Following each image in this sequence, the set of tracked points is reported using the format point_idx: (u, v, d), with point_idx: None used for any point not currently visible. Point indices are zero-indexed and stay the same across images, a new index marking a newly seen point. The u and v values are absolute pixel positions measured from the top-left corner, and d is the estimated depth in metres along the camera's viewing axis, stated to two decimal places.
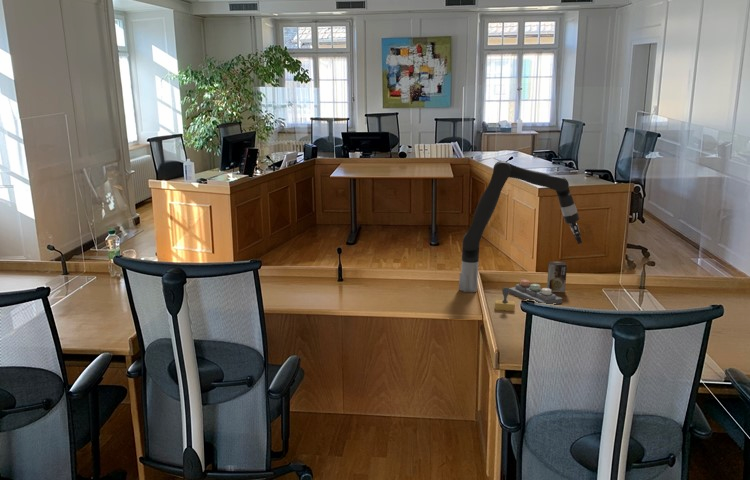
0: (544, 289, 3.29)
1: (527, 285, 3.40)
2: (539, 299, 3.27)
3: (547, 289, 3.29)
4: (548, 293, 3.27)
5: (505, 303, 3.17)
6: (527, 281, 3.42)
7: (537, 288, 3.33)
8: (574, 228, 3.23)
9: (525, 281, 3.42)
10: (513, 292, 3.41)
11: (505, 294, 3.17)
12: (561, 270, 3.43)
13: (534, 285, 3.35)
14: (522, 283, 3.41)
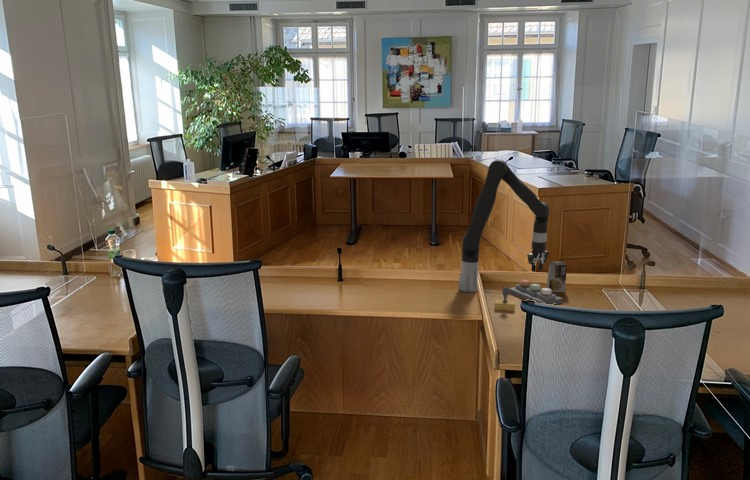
0: (544, 289, 3.29)
1: (527, 285, 3.40)
2: (539, 299, 3.27)
3: (547, 289, 3.29)
4: (548, 293, 3.27)
5: (505, 303, 3.17)
6: (527, 281, 3.42)
7: (537, 288, 3.33)
8: (528, 256, 3.28)
9: (525, 281, 3.42)
10: (513, 292, 3.41)
11: (505, 294, 3.17)
12: (561, 270, 3.43)
13: (534, 285, 3.35)
14: (522, 283, 3.41)
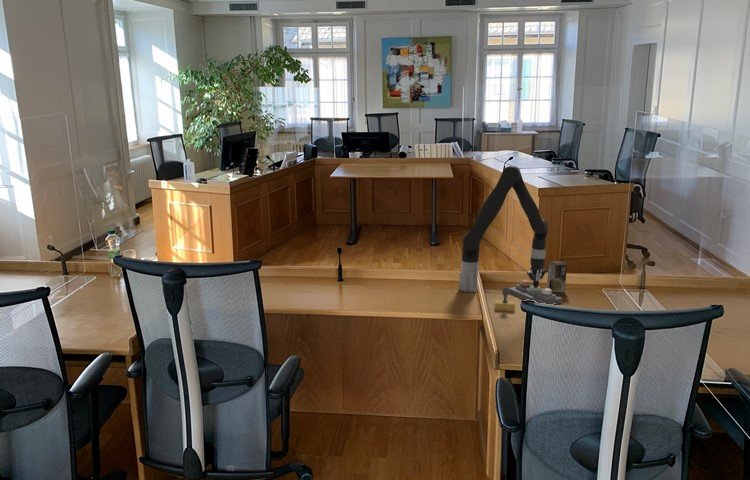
0: (544, 289, 3.29)
1: (527, 285, 3.40)
2: (539, 299, 3.27)
3: (547, 289, 3.29)
4: (548, 293, 3.27)
5: (505, 303, 3.17)
6: (527, 281, 3.42)
7: (537, 290, 3.34)
8: (528, 274, 3.31)
9: (525, 281, 3.42)
10: (513, 292, 3.41)
11: (505, 294, 3.17)
12: (561, 270, 3.43)
13: (534, 287, 3.35)
14: (522, 283, 3.41)
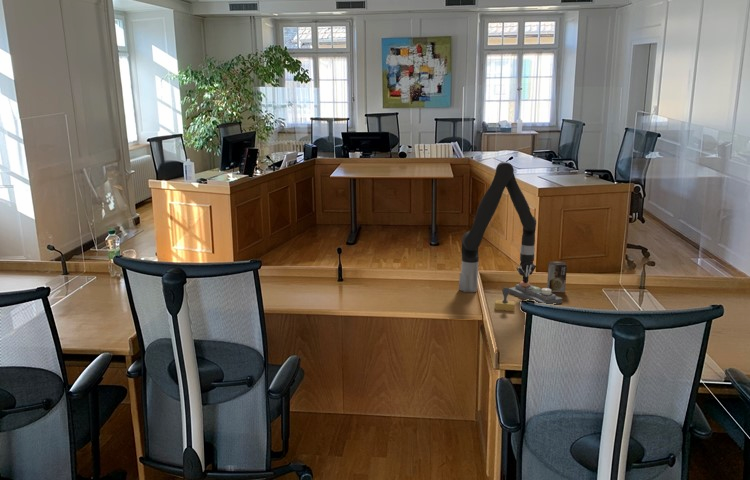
0: (544, 289, 3.29)
1: (527, 286, 3.40)
2: (539, 299, 3.27)
3: (547, 289, 3.29)
4: (548, 293, 3.27)
5: (505, 303, 3.17)
6: None
7: (537, 291, 3.34)
8: (517, 270, 3.38)
9: None
10: (513, 292, 3.41)
11: (505, 294, 3.17)
12: (561, 270, 3.43)
13: (534, 288, 3.35)
14: (522, 284, 3.41)
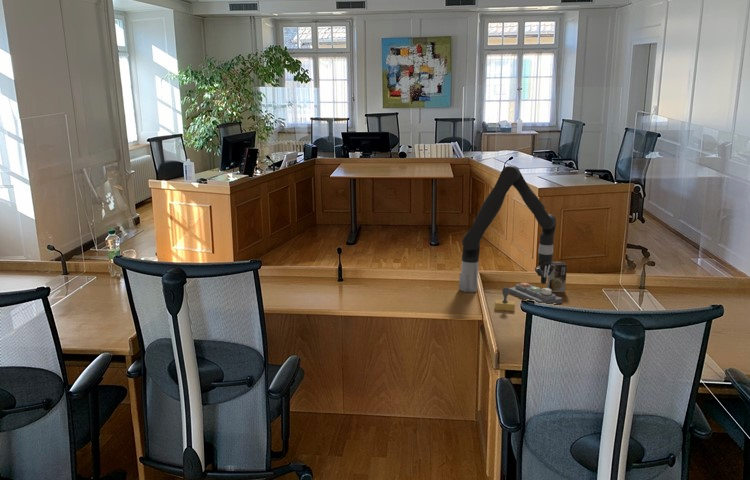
0: (544, 289, 3.29)
1: None
2: (539, 299, 3.27)
3: (547, 289, 3.29)
4: (548, 293, 3.27)
5: (505, 303, 3.17)
6: (527, 284, 3.42)
7: (537, 291, 3.34)
8: (536, 270, 3.27)
9: (525, 283, 3.43)
10: (513, 292, 3.41)
11: (505, 294, 3.17)
12: (561, 270, 3.43)
13: (534, 288, 3.35)
14: (522, 286, 3.41)
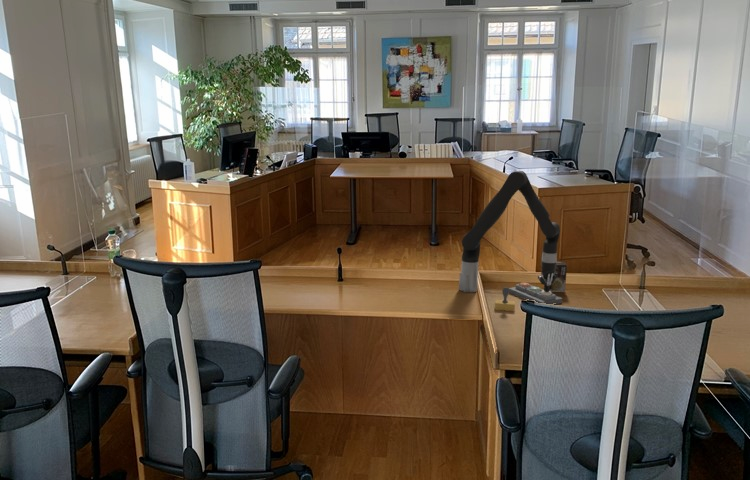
0: (544, 291, 3.29)
1: None
2: (539, 299, 3.27)
3: None
4: (548, 295, 3.27)
5: (505, 303, 3.17)
6: (527, 284, 3.42)
7: (537, 291, 3.34)
8: (539, 278, 3.25)
9: (525, 283, 3.43)
10: (513, 292, 3.41)
11: (505, 294, 3.17)
12: (561, 270, 3.43)
13: (534, 288, 3.35)
14: (522, 286, 3.41)
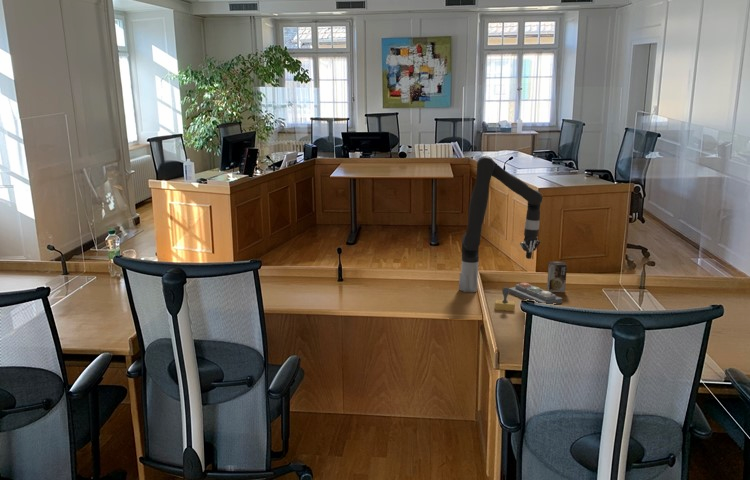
0: (544, 292, 3.29)
1: None
2: (539, 299, 3.27)
3: (547, 292, 3.29)
4: None
5: (505, 303, 3.17)
6: (527, 284, 3.42)
7: (537, 291, 3.34)
8: (521, 245, 3.34)
9: (525, 283, 3.43)
10: (513, 292, 3.41)
11: (505, 294, 3.17)
12: (561, 270, 3.43)
13: (534, 288, 3.35)
14: (522, 286, 3.41)
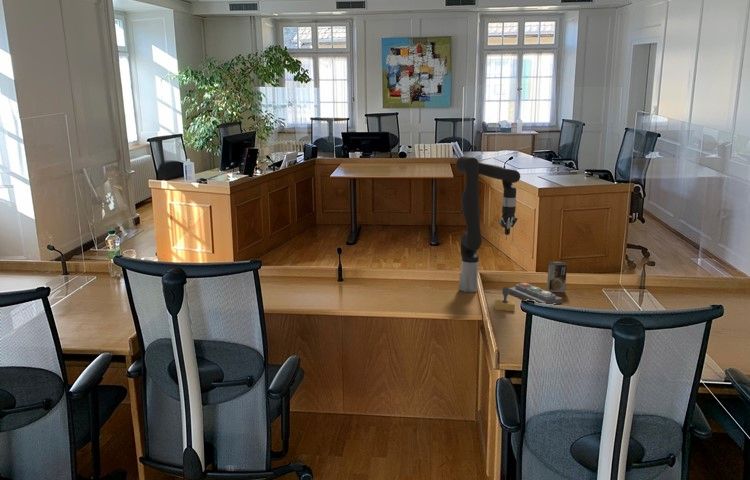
0: (544, 292, 3.29)
1: None
2: (539, 299, 3.27)
3: (547, 292, 3.29)
4: None
5: (505, 303, 3.17)
6: (527, 284, 3.42)
7: (537, 291, 3.34)
8: (499, 221, 3.49)
9: (525, 283, 3.43)
10: (513, 292, 3.41)
11: (505, 294, 3.17)
12: (561, 270, 3.43)
13: (534, 288, 3.35)
14: (522, 286, 3.41)
